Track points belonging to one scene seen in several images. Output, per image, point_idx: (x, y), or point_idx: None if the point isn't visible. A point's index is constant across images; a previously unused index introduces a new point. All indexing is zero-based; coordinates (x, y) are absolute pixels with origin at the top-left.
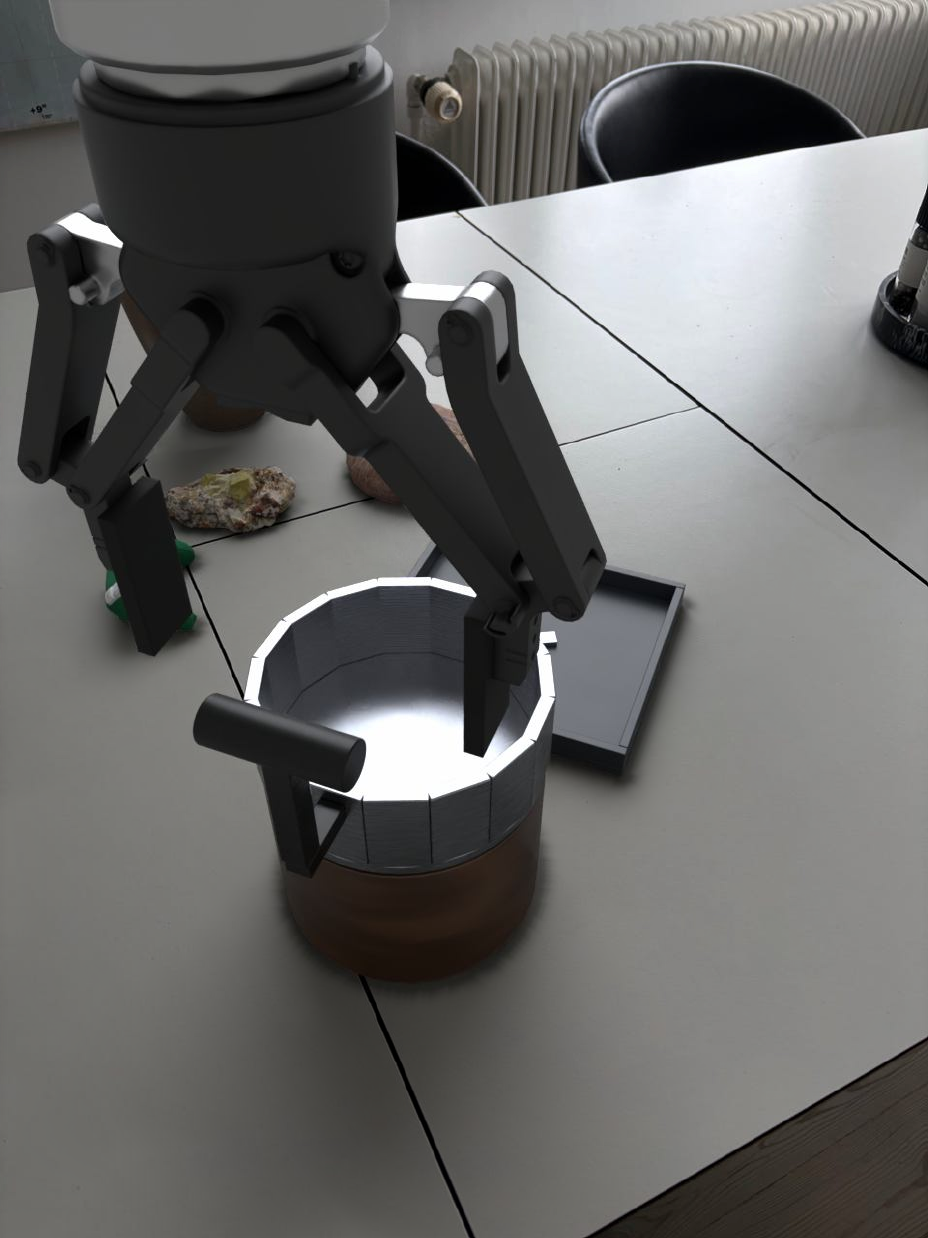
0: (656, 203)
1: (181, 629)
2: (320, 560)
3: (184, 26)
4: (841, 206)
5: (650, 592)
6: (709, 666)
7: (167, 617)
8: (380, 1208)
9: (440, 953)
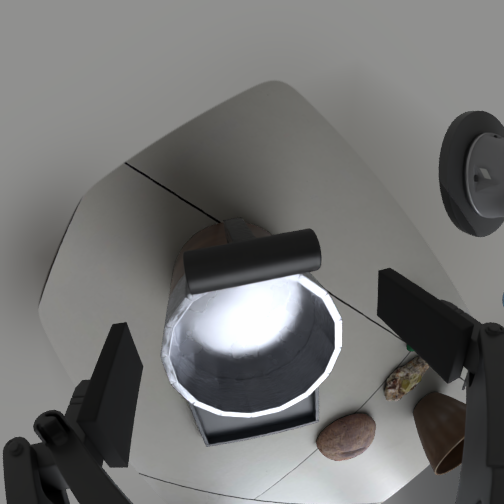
0: None
1: None
2: (359, 379)
3: None
4: None
5: (218, 437)
6: (177, 420)
7: (387, 299)
8: (157, 148)
9: (187, 247)
